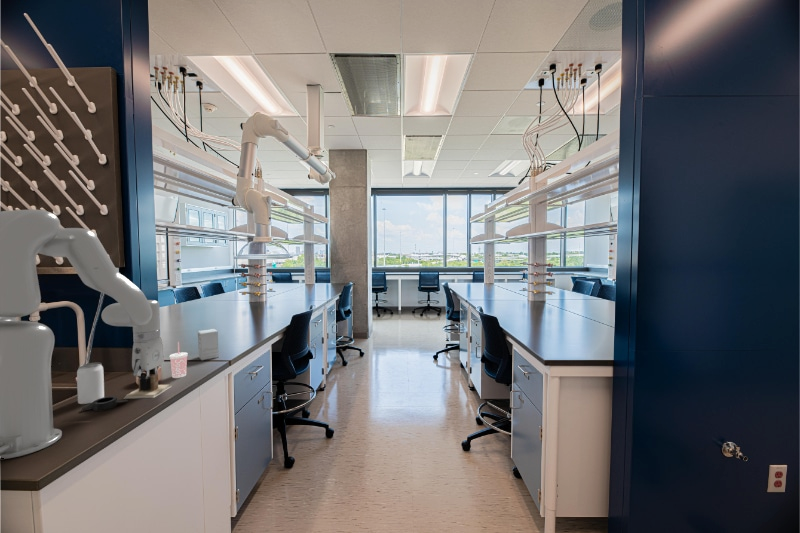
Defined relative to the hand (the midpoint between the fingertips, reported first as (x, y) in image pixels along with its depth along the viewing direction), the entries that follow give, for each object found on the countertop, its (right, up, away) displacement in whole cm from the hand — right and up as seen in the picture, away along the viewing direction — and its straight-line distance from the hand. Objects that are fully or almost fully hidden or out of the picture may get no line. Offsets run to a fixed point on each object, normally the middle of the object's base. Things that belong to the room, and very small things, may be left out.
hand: (148, 387), depth 118 cm
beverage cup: (0, -2, +16) cm, 16 cm away
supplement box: (-3, -1, +42) cm, 42 cm away
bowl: (-8, -2, +11) cm, 13 cm away
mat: (0, -2, 0) cm, 2 cm away
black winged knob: (-5, -3, -11) cm, 13 cm away
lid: (0, -2, 0) cm, 2 cm away
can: (-15, -2, -6) cm, 16 cm away
